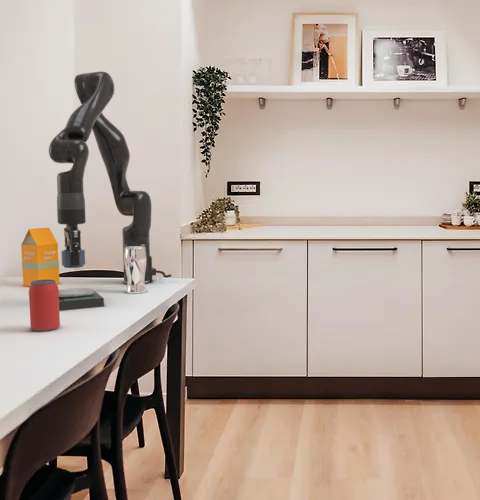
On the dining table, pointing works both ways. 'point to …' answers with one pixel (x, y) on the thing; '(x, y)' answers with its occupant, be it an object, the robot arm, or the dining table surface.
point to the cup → (67, 259)
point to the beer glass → (135, 268)
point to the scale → (81, 302)
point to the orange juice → (39, 256)
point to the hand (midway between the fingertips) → (73, 263)
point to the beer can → (44, 305)
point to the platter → (76, 292)
